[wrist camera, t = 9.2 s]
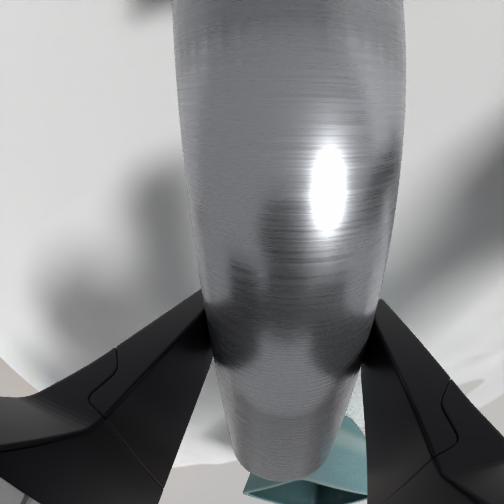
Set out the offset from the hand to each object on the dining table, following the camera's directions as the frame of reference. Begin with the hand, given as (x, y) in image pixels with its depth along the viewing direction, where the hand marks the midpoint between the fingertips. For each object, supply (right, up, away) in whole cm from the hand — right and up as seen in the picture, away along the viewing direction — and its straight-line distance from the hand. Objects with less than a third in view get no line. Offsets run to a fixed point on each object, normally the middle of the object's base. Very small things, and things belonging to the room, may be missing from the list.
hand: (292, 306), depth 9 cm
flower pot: (+5, -15, +20) cm, 26 cm away
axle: (0, +1, +1) cm, 1 cm away
